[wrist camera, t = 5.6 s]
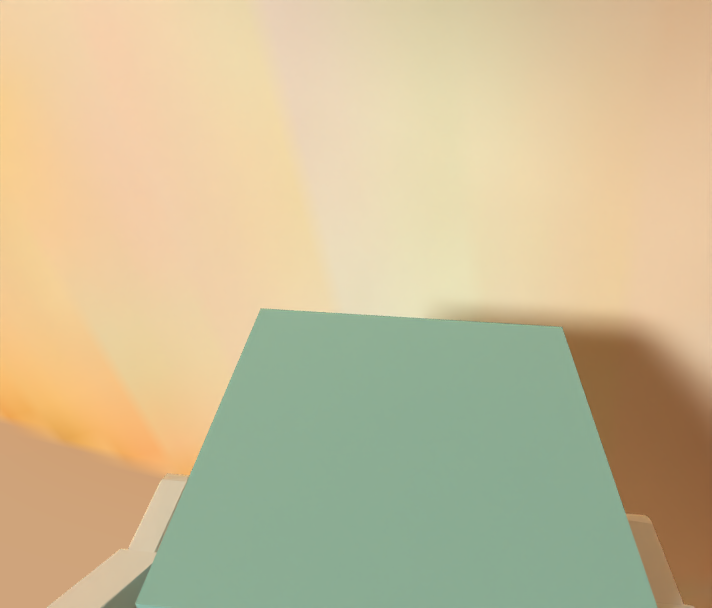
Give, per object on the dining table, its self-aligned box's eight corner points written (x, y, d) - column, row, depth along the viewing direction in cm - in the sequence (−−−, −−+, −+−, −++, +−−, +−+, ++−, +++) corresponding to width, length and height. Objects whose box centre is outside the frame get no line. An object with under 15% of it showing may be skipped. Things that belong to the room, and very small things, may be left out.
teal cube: (261, 308, 11) (135, 603, 6) (561, 327, 11) (676, 662, 6) (282, 493, 15) (210, 780, 10) (512, 514, 14) (558, 827, 9)
